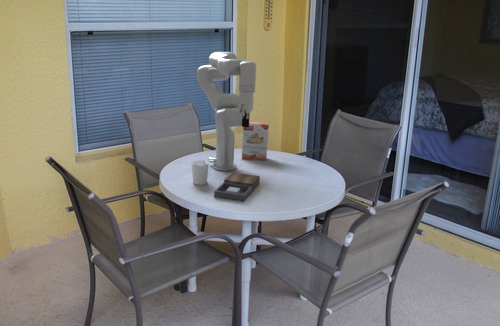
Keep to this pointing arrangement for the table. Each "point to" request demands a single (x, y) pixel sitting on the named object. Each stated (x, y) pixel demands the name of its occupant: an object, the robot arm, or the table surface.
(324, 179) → the table surface
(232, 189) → the tile
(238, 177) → the board
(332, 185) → the table surface
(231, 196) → the tray
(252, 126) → the cracker box
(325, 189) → the table surface
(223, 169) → the robot arm
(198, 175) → the white cup
